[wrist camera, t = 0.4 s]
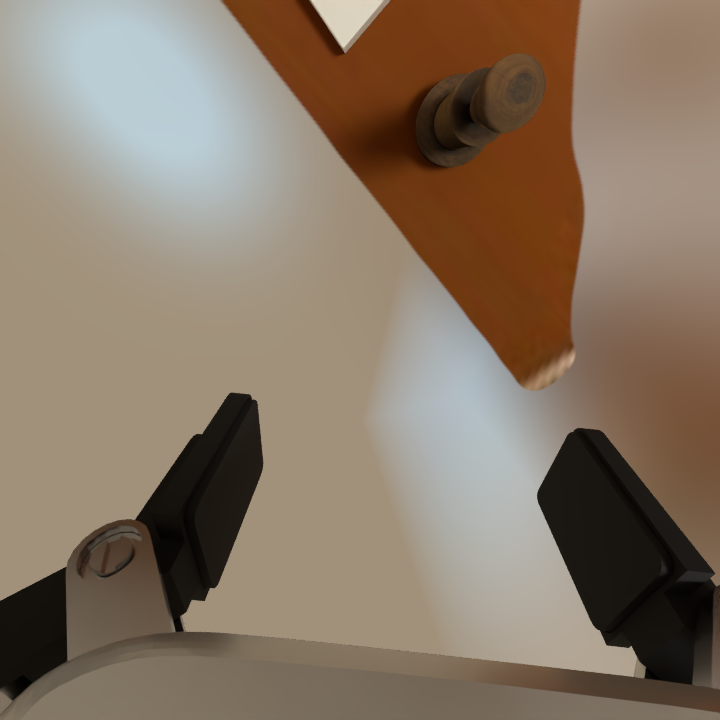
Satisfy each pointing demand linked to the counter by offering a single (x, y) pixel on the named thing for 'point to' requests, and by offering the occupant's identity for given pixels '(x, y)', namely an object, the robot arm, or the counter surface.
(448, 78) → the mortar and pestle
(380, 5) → the post board
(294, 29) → the counter surface
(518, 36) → the counter surface
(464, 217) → the counter surface
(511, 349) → the counter surface
